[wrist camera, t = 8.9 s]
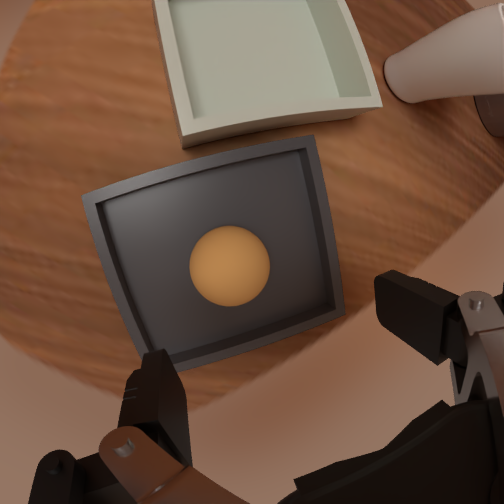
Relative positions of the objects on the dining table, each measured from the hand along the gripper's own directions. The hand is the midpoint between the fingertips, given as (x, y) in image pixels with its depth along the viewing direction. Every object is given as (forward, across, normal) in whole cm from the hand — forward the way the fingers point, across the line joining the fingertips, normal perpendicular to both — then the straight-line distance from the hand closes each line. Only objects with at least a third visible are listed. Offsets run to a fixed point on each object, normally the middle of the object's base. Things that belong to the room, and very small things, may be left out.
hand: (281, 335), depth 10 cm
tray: (+12, 0, 0) cm, 12 cm away
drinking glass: (+13, -21, -12) cm, 27 cm away
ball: (+11, 0, 0) cm, 11 cm away
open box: (+12, -6, -15) cm, 20 cm away
